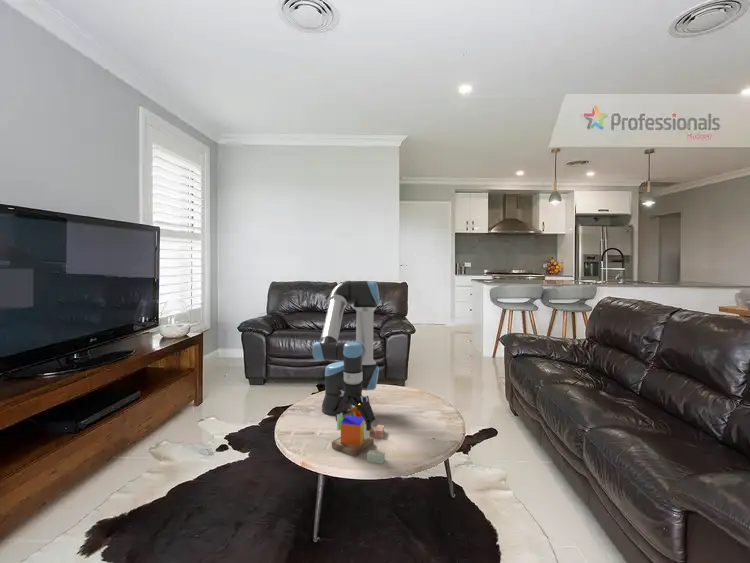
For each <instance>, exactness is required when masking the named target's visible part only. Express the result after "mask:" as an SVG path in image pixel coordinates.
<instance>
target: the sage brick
mask: <svg viewBox="0 0 750 563" xmlns="http://www.w3.org/2000/svg"><path fill="white" fill-rule="evenodd" d="M385 454H386V453H385V452H384V451H377V450H373V449H369V450H368V452H367V453H366V462H371V463H375V462H376V463H375V464H380V463H382V464H384V462H383V461H385V460H386V458H385Z"/></svg>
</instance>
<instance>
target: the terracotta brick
mask: <svg viewBox="0 0 750 563" xmlns="http://www.w3.org/2000/svg"><path fill="white" fill-rule="evenodd" d="M384 432H385V425H383V424H377V425H376V427H375V430H374V437H375V438H378V439H379V438H383V437H384V436H383V435H384Z"/></svg>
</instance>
